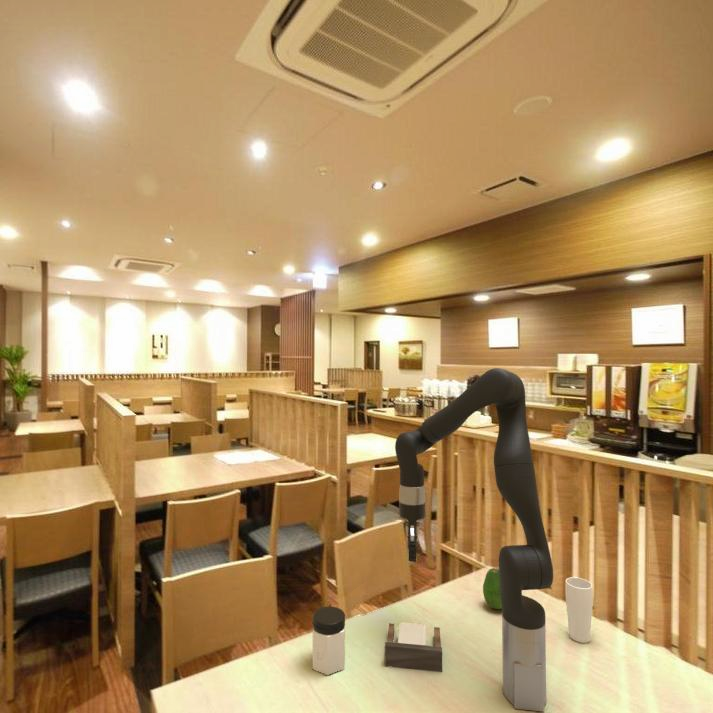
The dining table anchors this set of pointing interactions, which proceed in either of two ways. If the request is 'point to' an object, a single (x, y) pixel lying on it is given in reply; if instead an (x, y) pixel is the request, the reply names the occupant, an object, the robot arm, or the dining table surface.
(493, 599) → the avocado
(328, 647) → the jar
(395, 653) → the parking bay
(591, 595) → the drinking glass
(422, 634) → the white rectangular block
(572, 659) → the dining table surface
